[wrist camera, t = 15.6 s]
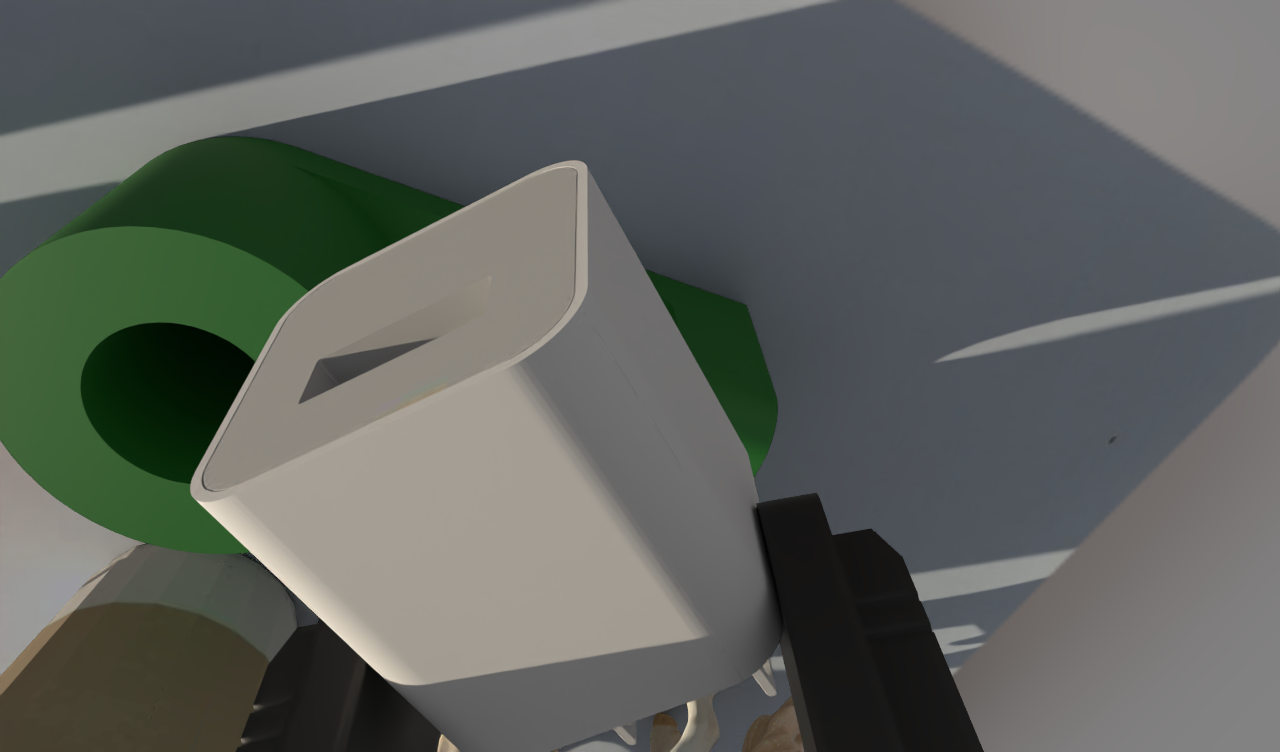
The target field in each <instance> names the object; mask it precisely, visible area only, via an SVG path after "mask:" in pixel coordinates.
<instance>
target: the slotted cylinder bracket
mask: <svg viewBox="0 0 1280 752" xmlns="http://www.w3.org/2000/svg"><path fill="white" fill-rule="evenodd" d="M464 207H465V206H463V205H460V204H457V203H454V202H451V201H448V200H446V199H443V198H440V197H437V196H434V195H431V194H428V193H426V192H423V191H420V190H417V189H414V188H411V187H409V186H406V185H403V184H400V183H397V182H394V181H391V180H389V179H386V178H383V177H380V176H377V175H374V174H371V173H369V172H366V171H363V170H360V169H357V168H354V167H352V166H349V165H346V164H343V163H340V162H337V161H334V160H332V159H329V158H326V157H323V156H320V155H317V154H314V153H312V152H309V151H306V150H303V149H300V148H297V147H294V146H291V145H288V144H284V143H280V142H276V141H272V140H266V139H259V138H253V137H233V136H232V137H216V138H209V139H203V140H198V141H194V142H191V143H187V144H184V145H181V146H178V147H176V148H173V149H171V150H169V151H167V152H164V153H163V154H161V155H159V156H158V157H156V158H154V159H153V160H151V161H150V162H148V163H147V164H146V165H144V166H143V167H142V168H140V169H139V170H138V171H137V172H135V173H134V174H133V175H131V176H130V177H129V178H127V179H126V180H125V181H123V182H122V183H121V184H120V185H118V186H117V187H116V188H114V189H113V190H112V191H110V192H109V193H108V194H106V195H105V196H104V197H102V198H101V199H100V200H99V201H97V202H96V203H95V204H93V205H92V206H91V207H89V208H88V209H87V210H85V211H84V212H83V213H81V214H80V215H79V216H78V217H76V218H75V219H74V220H72V221H71V222H70V223H68V224H67V225H66V226H64V227H63V228H62V229H60V230H59V231H58V232H57V233H55V234H54V235H53V236H51V237H50V238H49V239H47V240H46V241H45V242H43V243H42V244H41V245H39V246H38V247H37V248H36V249H34V250H33V251H32V252H30V253H29V254H28V255H26V256H25V257H24V258H23V259H21V260H20V261H19V262H18V263H16V264H15V265H14V266H13V267H11V268H10V269H9V270H8V271H7V272H6V273H5V275H4V276H3V277H2V278H1V279H0V440H1V442H2V443H3V445H4V446H5V447H6V449H7V450H8V452H9V453H10V454H11V456H12V457H13V458H14V459H15V460H16V461H17V463H18V464H19V465H20V466H21V467H22V468H23V470H24V471H25V472H26V473H28V474H29V475H30V476H31V477H32V478H33V479H34V480H35V481H36V482H37V483H38V484H39V485H40V486H41V487H43V488H44V489H45V490H46V491H47V492H49V493H50V494H51V495H52V496H54V497H55V498H56V499H58V500H59V501H60V502H62V503H63V504H65V505H66V506H68V507H69V508H71V509H72V510H74V511H75V512H77V513H79V514H80V515H82V516H84V517H85V518H87V519H89V520H91V521H93V522H95V523H97V524H99V525H101V526H103V527H105V528H107V529H109V530H111V531H114V532H116V533H119V534H121V535H124V536H126V537H129V538H132V539H135V540H138V541H141V542H144V543H147V544H151V545H155V546H159V547H163V548H167V549H173V550H179V551H185V552H192V553H204V554H237V553H249V552H250V551H249V550H248V549H247V548H246V547H245V546H244V545H243V544H242V543H240V542H239V541H238V540H237V539H236V538H235V537H234V536H233V535H232V534H231V533H230V532H229V531H228V530H227V529H226V528H225V527H224V526H223V525H222V524H220V523H219V522H218V521H217V520H216V519H215V518H214V517H213V516H212V515H211V514H210V513H209V512H208V511H207V510H206V509H205V508H204V507H203V506H201V505H200V504H199V503H198V502H197V501H196V500H195V499H194V498H193V497H192V495H191V492H190V485H191V481H192V478H193V475H194V473H195V471H196V469H197V467H198V466H199V464H200V462H201V460H202V458H203V457H204V455H205V453H206V451H207V449H208V447H209V446H210V444H211V442H212V440H213V438H214V437H215V435H216V433H217V431H218V429H219V428H220V426H221V424H222V422H223V420H224V418H225V417H226V415H227V413H228V411H229V409H230V408H231V406H232V404H233V402H234V400H235V399H236V397H237V395H238V393H239V391H240V389H241V388H242V386H243V384H244V382H245V380H246V379H247V377H248V375H249V373H250V371H251V370H252V368H253V366H254V364H255V362H256V361H257V359H258V357H259V355H260V353H261V351H262V350H263V348H264V346H265V344H266V342H267V341H268V339H269V337H270V335H271V333H272V332H273V330H274V328H275V326H276V325H277V323H278V322H279V320H280V319H281V318H282V316H283V315H284V314H285V313H286V312H287V311H288V310H289V309H290V308H291V307H292V306H293V305H294V304H295V303H296V302H297V301H298V300H299V299H300V298H302V297H303V296H304V295H305V294H307V293H308V292H309V291H310V290H312V289H313V288H314V287H316V286H317V285H318V284H320V283H321V282H323V281H324V280H326V279H327V278H329V277H331V276H332V275H334V274H336V273H337V272H339V271H341V270H343V269H345V268H347V267H349V266H351V265H353V264H355V263H357V262H359V261H361V260H363V259H365V258H366V257H368V256H370V255H372V254H374V253H376V252H378V251H380V250H382V249H384V248H386V247H388V246H390V245H392V244H394V243H396V242H398V241H400V240H402V239H404V238H406V237H408V236H409V235H411V234H413V233H415V232H417V231H419V230H421V229H423V228H425V227H427V226H429V225H431V224H433V223H435V222H437V221H439V220H441V219H443V218H445V217H447V216H449V215H451V214H452V213H454V212H456V211H458V210H460V209H462V208H464ZM645 271H646V273H647V275H648V276H649V278H650V280H651V282H652V283H653V285H654V287H655V289H656V291H657V292H658V294H659V296H660V298H661V299H662V301H663V303H664V305H665V307H666V308H667V310H668V312H669V314H670V315H671V317H672V319H673V321H674V323H675V324H676V326H677V328H678V330H679V331H680V333H681V335H682V337H683V339H684V340H685V342H686V344H687V346H688V348H689V349H690V351H691V353H692V355H693V356H694V358H695V360H696V362H697V364H698V365H699V367H700V369H701V371H702V372H703V374H704V376H705V378H706V380H707V381H708V383H709V385H710V387H711V388H712V390H713V392H714V394H715V396H716V397H717V399H718V401H719V403H720V404H721V406H722V408H723V410H724V412H725V413H726V415H727V417H728V419H729V420H730V422H731V424H732V426H733V428H734V429H735V431H736V433H737V435H738V437H739V438H740V440H741V442H742V444H743V445H744V447H745V449H746V451H747V453H748V456H749V460H750V465H751V469H752V473H753V477H755V475H756V473H757V472H758V470H759V468H760V466H761V465H762V463H763V461H764V459H765V457H766V455H767V453H768V450H769V448H770V445H771V442H772V439H773V436H774V432H775V428H776V422H777V414H778V403H777V397H776V393H775V390H774V387H773V384H772V381H771V378H770V375H769V372H768V369H767V366H766V363H765V360H764V357H763V354H762V351H761V348H760V344H759V341H758V338H757V335H756V332H755V329H754V326H753V323H752V320H751V317H750V314H749V311H748V308H747V305H745V304H742V303H739V302H736V301H733V300H730V299H728V298H725V297H722V296H719V295H716V294H713V293H710V292H708V291H705V290H702V289H699V288H696V287H693V286H691V285H688V284H685V283H682V282H679V281H676V280H673V279H671V278H668V277H665V276H662V275H659V274H656V273H654V272H651V271H648V270H645Z"/></svg>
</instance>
